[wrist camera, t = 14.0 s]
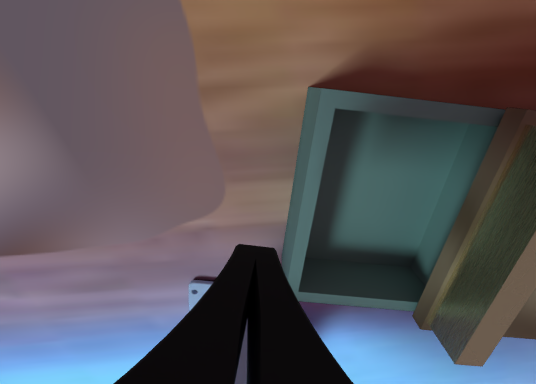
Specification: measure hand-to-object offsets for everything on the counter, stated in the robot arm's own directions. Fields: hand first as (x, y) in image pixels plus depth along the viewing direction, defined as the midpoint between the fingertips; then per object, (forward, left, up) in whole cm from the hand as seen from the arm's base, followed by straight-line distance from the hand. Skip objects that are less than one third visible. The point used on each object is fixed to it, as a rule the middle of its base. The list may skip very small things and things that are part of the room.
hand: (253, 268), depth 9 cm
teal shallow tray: (0, -8, -10) cm, 13 cm away
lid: (0, -16, -5) cm, 17 cm away
